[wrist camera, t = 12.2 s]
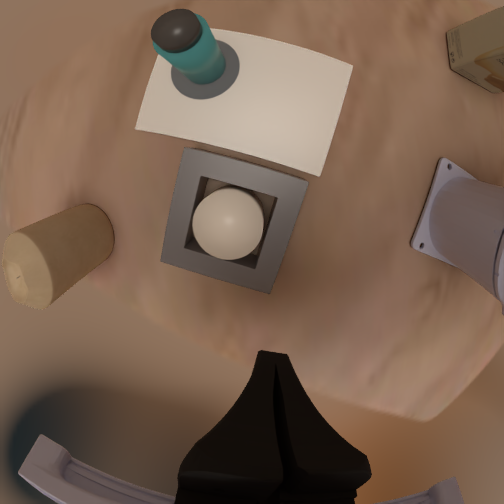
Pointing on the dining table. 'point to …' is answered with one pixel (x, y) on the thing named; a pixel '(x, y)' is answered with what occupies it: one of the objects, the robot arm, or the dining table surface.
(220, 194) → the button
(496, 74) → the skincare box
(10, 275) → the candle
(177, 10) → the bottle
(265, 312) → the dining table surface
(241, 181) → the button housing
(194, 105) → the paper
